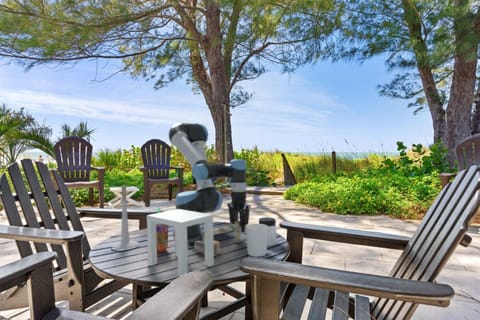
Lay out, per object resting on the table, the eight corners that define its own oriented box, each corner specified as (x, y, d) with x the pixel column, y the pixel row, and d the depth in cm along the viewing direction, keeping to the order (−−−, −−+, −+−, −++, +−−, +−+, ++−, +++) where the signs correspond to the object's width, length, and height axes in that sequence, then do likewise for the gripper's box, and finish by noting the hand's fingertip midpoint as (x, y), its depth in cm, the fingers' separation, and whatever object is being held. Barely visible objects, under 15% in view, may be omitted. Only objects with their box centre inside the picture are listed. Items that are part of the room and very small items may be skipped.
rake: (232, 238, 153) (232, 218, 153) (251, 242, 145) (251, 222, 145) (194, 250, 133) (194, 227, 133) (213, 255, 125) (213, 232, 125)
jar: (265, 247, 139) (265, 222, 139) (255, 243, 146) (254, 218, 146) (280, 244, 144) (279, 219, 144) (269, 240, 151) (269, 216, 150)
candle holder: (244, 250, 136) (244, 224, 136) (266, 249, 137) (265, 223, 136) (247, 257, 126) (246, 229, 126) (270, 256, 127) (269, 228, 127)
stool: (148, 265, 120) (146, 215, 119) (179, 254, 132) (178, 208, 132) (182, 278, 106) (181, 222, 106) (213, 264, 119) (212, 214, 118)
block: (203, 253, 132) (203, 242, 132) (211, 250, 136) (211, 239, 136) (211, 255, 129) (211, 244, 129) (219, 252, 133) (219, 241, 133)
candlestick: (127, 241, 152) (125, 182, 151) (145, 245, 146) (143, 183, 145) (105, 248, 141) (103, 185, 140) (123, 253, 135) (121, 186, 134)
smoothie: (152, 255, 130) (151, 210, 130) (148, 250, 138) (147, 207, 137) (171, 252, 134) (170, 208, 134) (167, 247, 142) (166, 205, 141)
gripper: (221, 190, 149) (222, 237, 150) (246, 192, 139) (247, 242, 140) (231, 189, 155) (232, 234, 156) (255, 191, 145) (256, 239, 146)
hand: (239, 238), depth 148 cm, fingers closed on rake, 2 cm apart
